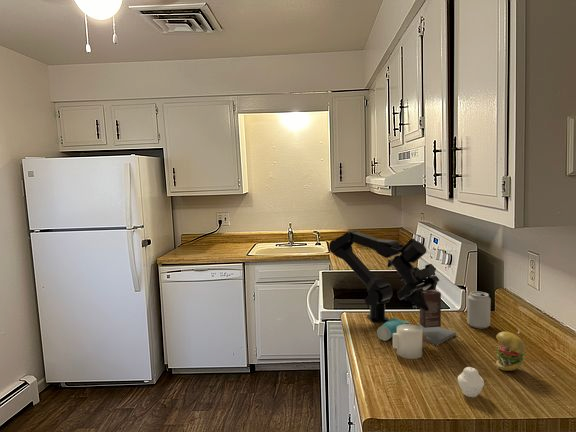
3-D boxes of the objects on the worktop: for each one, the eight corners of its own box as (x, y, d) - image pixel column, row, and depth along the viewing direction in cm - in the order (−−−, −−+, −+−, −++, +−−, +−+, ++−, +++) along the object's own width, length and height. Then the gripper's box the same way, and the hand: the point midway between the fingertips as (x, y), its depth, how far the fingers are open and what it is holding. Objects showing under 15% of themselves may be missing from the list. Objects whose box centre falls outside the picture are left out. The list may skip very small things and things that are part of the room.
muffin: (467, 402, 100) (468, 374, 100) (452, 389, 106) (452, 363, 105) (489, 398, 102) (490, 371, 101) (472, 386, 108) (473, 360, 107)
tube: (374, 323, 139) (391, 311, 155) (372, 336, 139) (389, 323, 156) (396, 330, 135) (411, 317, 151) (393, 344, 135) (408, 330, 152)
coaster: (405, 334, 142) (405, 331, 142) (424, 325, 150) (424, 322, 150) (437, 345, 133) (437, 341, 133) (455, 335, 141) (455, 331, 141)
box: (434, 322, 144) (435, 289, 143) (440, 327, 140) (441, 293, 138) (418, 323, 144) (419, 289, 142) (423, 328, 139) (424, 293, 138)
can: (493, 329, 145) (494, 296, 144) (472, 329, 146) (473, 296, 144) (484, 321, 153) (485, 290, 152) (463, 322, 153) (464, 290, 152)
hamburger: (493, 361, 121) (494, 322, 120) (521, 365, 118) (522, 324, 117) (497, 373, 114) (498, 331, 113) (526, 377, 111) (528, 334, 110)
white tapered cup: (415, 347, 132) (415, 323, 131) (426, 357, 125) (426, 332, 124) (388, 349, 131) (388, 325, 130) (398, 360, 123) (398, 334, 123)
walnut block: (408, 344, 135) (408, 332, 134) (418, 342, 136) (418, 330, 136) (416, 349, 131) (416, 337, 130) (426, 347, 132) (426, 335, 132)
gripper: (405, 261, 136) (435, 301, 129) (435, 253, 148) (464, 289, 141) (385, 280, 143) (412, 319, 136) (415, 270, 155) (441, 306, 148)
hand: (433, 307), depth 140 cm, fingers closed on box, 7 cm apart
